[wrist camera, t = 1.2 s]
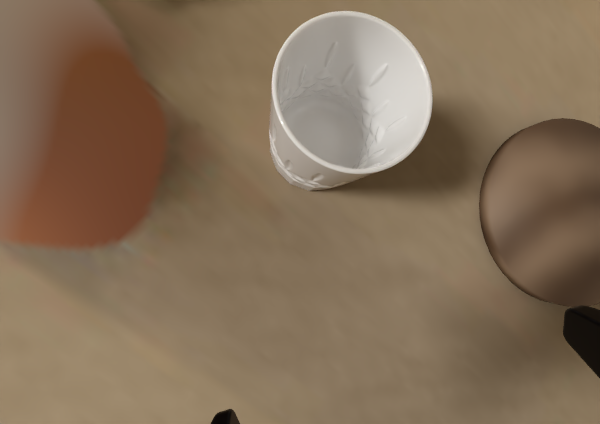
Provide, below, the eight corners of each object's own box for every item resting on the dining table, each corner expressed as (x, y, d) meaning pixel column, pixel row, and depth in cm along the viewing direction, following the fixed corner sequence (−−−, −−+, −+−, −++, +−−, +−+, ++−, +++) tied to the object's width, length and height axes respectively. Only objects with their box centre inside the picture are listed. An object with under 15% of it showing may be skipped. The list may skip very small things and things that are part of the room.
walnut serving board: (660, 252, 29) (677, 253, 28) (530, 337, 26) (543, 342, 25) (586, 97, 29) (601, 91, 28) (448, 166, 26) (458, 163, 25)
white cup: (247, 115, 24) (247, 30, 14) (341, 88, 25) (400, -6, 15) (282, 212, 24) (306, 196, 14) (374, 180, 25) (455, 144, 15)
